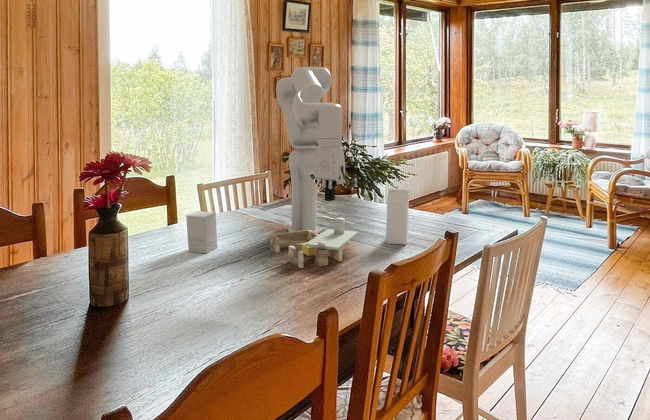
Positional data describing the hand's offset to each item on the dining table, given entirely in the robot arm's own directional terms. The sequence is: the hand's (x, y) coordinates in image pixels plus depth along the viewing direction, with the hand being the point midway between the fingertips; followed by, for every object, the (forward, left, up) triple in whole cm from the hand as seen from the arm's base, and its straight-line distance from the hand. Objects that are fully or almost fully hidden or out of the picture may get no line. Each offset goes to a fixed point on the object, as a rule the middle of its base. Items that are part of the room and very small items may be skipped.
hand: (329, 200), depth 178 cm
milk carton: (-2, +29, -19) cm, 34 cm away
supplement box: (-25, -35, -19) cm, 47 cm away
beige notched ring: (-3, -7, -18) cm, 20 cm away
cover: (+2, 0, -13) cm, 13 cm away
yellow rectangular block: (-5, -5, -19) cm, 20 cm away
